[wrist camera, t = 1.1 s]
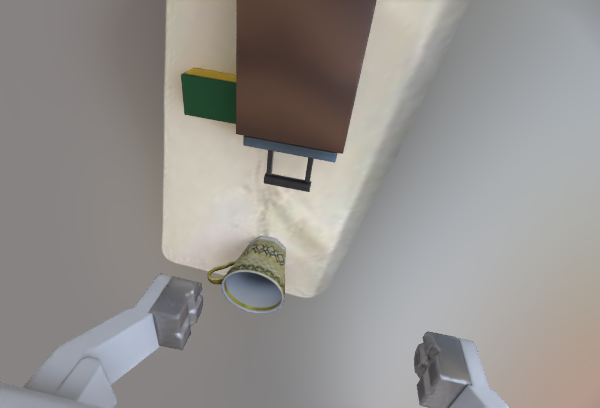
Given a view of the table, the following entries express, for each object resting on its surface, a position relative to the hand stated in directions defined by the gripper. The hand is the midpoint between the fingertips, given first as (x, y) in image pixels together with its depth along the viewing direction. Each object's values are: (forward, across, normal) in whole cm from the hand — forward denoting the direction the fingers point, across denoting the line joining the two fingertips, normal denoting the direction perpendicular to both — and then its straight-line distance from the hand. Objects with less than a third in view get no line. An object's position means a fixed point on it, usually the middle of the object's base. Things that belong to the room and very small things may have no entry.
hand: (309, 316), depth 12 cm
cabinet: (+34, +5, -2) cm, 35 cm away
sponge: (+34, +16, +4) cm, 38 cm away
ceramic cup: (+35, +10, +31) cm, 48 cm away
